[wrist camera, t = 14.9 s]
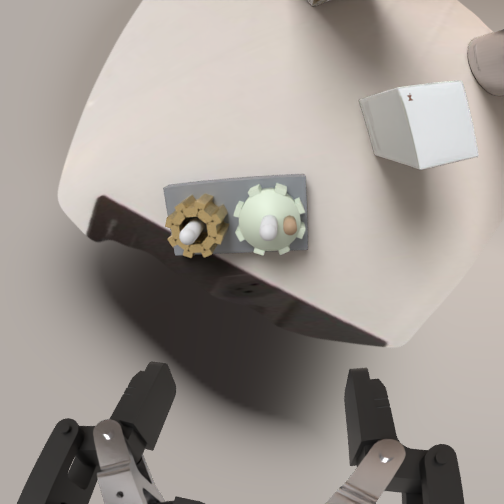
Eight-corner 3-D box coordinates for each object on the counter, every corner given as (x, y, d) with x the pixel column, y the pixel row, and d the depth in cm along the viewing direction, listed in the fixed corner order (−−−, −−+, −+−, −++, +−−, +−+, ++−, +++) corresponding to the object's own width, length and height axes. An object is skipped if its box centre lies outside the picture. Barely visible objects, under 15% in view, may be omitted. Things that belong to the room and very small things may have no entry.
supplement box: (373, 156, 32) (417, 172, 20) (357, 98, 29) (395, 84, 18) (423, 145, 30) (480, 158, 19) (409, 90, 28) (463, 78, 16)
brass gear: (225, 191, 34) (218, 199, 30) (231, 243, 36) (225, 256, 32) (173, 196, 34) (161, 204, 31) (182, 245, 37) (171, 259, 33)
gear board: (304, 174, 34) (311, 187, 26) (306, 243, 37) (312, 274, 29) (169, 184, 36) (140, 201, 28) (180, 249, 39) (156, 278, 32)
